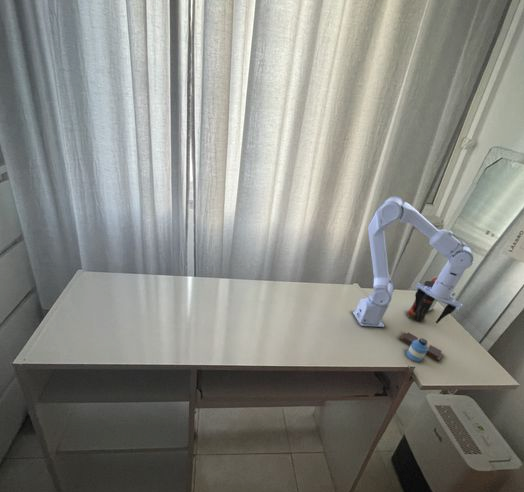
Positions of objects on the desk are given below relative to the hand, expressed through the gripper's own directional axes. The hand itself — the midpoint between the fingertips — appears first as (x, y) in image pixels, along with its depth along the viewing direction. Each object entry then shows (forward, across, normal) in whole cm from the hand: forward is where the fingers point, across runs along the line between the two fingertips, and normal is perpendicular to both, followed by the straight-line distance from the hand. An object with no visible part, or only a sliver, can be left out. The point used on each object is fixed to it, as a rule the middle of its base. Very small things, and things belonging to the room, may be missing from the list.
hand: (425, 316), depth 108 cm
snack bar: (+10, -4, +3) cm, 11 cm away
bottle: (+10, -4, +10) cm, 15 cm away
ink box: (+10, +4, -25) cm, 28 cm away
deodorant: (+10, +4, -15) cm, 19 cm away
